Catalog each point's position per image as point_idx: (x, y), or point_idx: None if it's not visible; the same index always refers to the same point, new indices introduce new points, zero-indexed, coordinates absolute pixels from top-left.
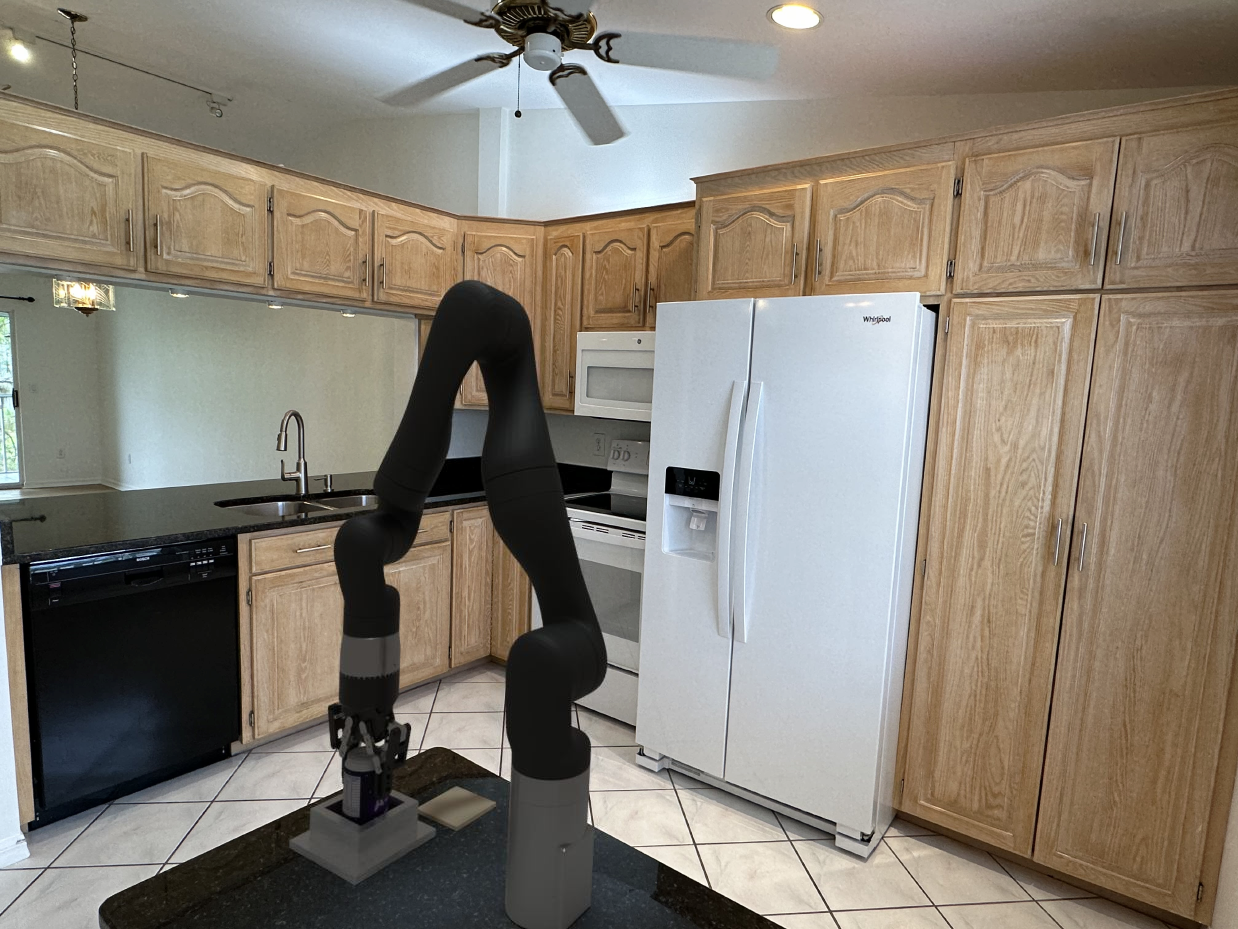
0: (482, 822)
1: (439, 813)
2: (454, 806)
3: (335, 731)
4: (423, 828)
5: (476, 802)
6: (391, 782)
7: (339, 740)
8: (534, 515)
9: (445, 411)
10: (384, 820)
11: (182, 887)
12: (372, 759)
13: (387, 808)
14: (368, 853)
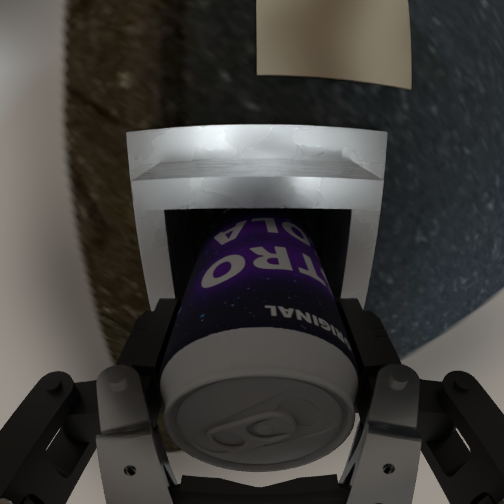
0: (423, 31)
1: (331, 58)
2: (337, 13)
3: (72, 484)
4: (361, 147)
5: None
6: (387, 339)
7: (81, 438)
8: None
9: None
10: (363, 304)
11: (157, 423)
12: (321, 438)
13: (310, 245)
14: None
